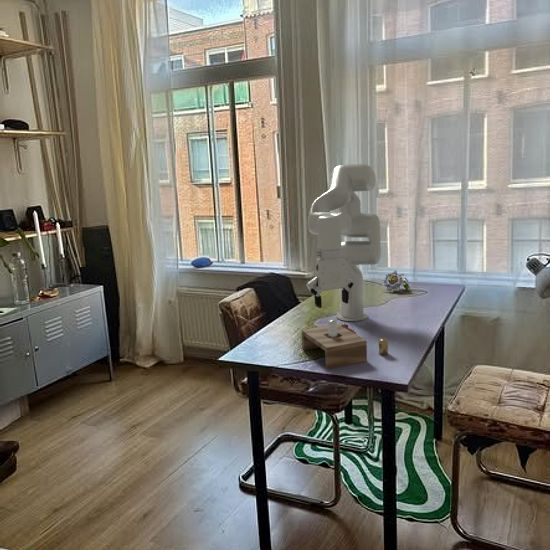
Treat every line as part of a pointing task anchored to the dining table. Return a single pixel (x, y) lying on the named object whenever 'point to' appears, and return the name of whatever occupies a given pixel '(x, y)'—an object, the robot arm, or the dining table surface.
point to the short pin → (383, 346)
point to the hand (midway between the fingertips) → (332, 304)
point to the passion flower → (395, 282)
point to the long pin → (332, 328)
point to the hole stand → (336, 345)
